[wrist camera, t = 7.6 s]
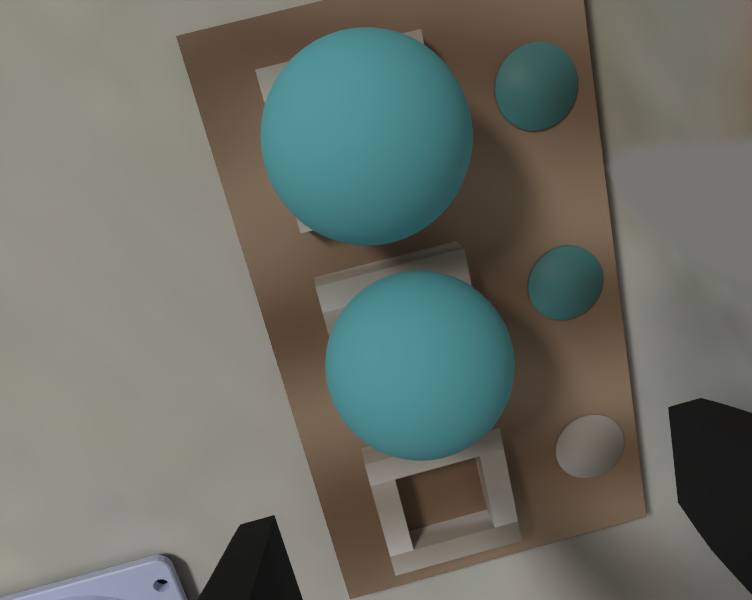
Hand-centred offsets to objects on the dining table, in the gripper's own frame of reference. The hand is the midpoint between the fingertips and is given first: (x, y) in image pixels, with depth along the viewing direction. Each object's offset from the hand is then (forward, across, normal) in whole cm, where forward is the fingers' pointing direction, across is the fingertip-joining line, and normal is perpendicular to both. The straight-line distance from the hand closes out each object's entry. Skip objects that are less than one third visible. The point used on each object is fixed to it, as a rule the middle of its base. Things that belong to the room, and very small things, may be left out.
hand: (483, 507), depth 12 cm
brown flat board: (+10, -2, 0) cm, 10 cm away
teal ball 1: (+6, 0, -6) cm, 9 cm away
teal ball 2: (+6, 0, 0) cm, 6 cm away
